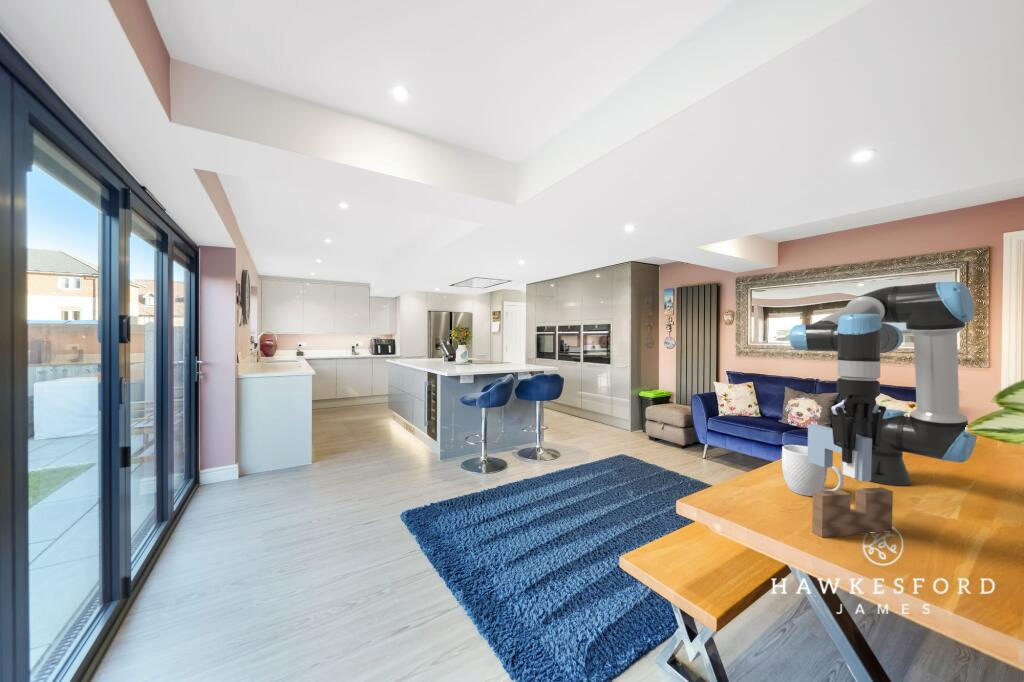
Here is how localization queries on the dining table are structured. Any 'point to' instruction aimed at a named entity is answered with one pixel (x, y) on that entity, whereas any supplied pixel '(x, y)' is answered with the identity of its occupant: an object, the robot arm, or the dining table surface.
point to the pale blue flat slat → (837, 450)
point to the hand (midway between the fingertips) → (855, 475)
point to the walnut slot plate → (852, 512)
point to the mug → (805, 472)
